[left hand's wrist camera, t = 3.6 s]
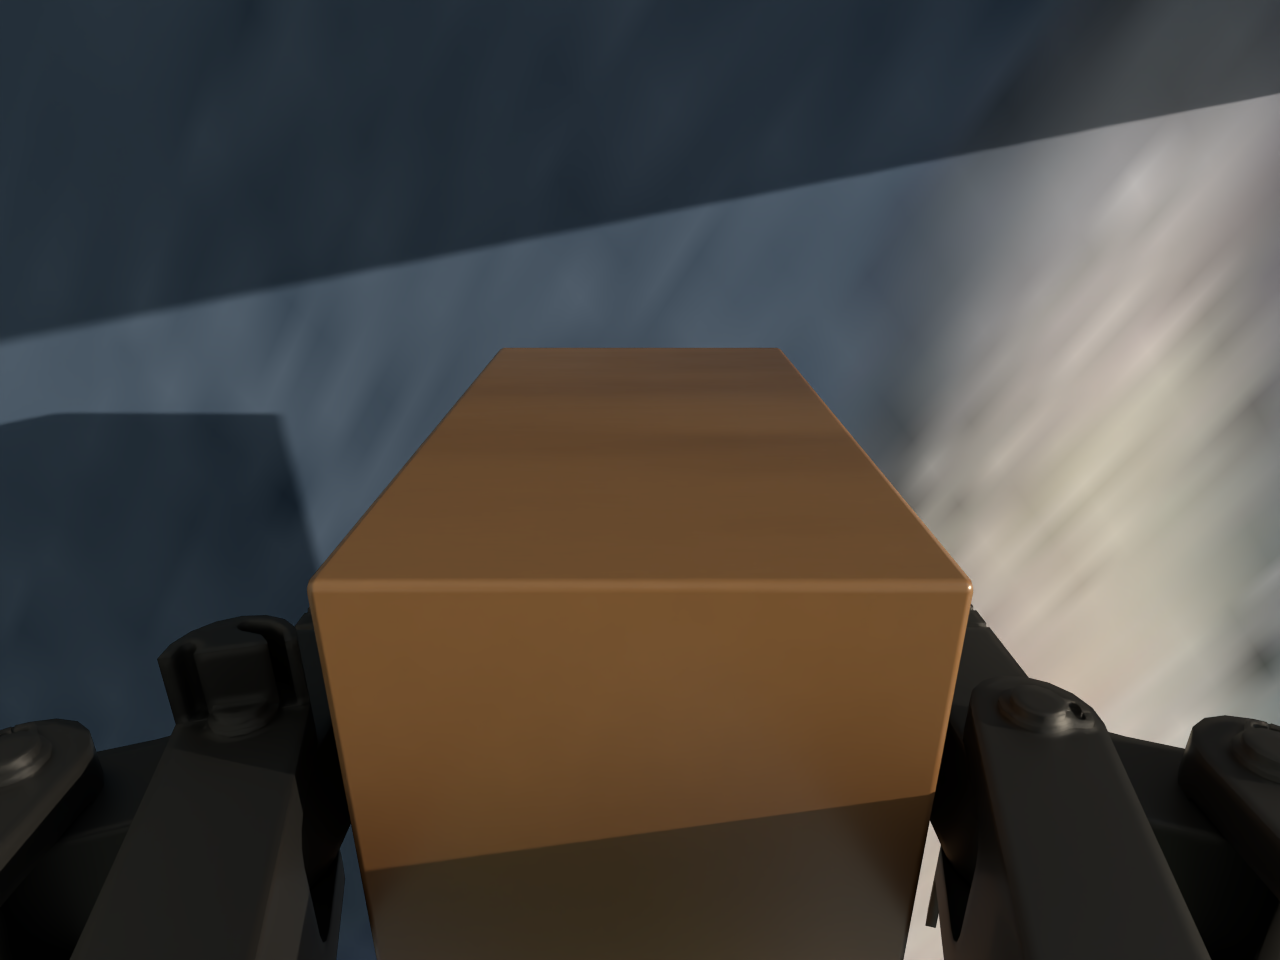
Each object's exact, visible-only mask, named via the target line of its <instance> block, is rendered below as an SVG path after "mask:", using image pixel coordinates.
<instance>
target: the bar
mask: <svg viewBox="0 0 1280 960" xmlns="http://www.w3.org/2000/svg"><path fill="white" fill-rule="evenodd" d="M307 594H308V599H309V604H310V610H311V615H312V620H313V625H314V631H315V636H316V641H317V647H318V652H319V657H320V662H321V668H322V673H323V678H324V683H325V689H326V694H327V699H328V705H329V710H330V715H331V720H332V726H333V731H334V736H335V741H336V747H337V752H338V757H339V763H340V768H341V773H342V778H343V784H344V789H345V794H346V799H347V805H348V810H349V815H350V821H351V826H352V831H353V836H354V842H355V847H356V852H357V857H358V863H359V868H360V873H361V878H362V884H363V889H364V894H365V900H366V905H367V910H368V915H369V921H370V926H371V931H372V936H373V942H374V947H375V952H376V958H377V960H903V959H904V953H905V948H906V943H907V938H908V932H909V927H910V922H911V917H912V911H913V906H914V901H915V895H916V890H917V885H918V880H919V874H920V869H921V864H922V859H923V853H924V848H925V843H926V837H927V832H928V827H929V822H930V816H931V811H932V806H933V800H934V795H935V790H936V785H937V779H938V774H939V769H940V764H941V758H942V753H943V748H944V742H945V737H946V732H947V727H948V721H949V716H950V711H951V706H952V700H953V695H954V690H955V684H956V679H957V674H958V669H959V663H960V658H961V653H962V647H963V642H964V637H965V632H966V626H967V621H968V616H969V611H970V605H971V600H972V595H973V586H972V583H971V580H970V579H969V577H968V576H967V575H966V574H965V573H964V571H963V570H962V569H961V568H960V567H959V565H958V564H957V563H956V562H955V561H954V559H953V558H952V557H951V556H950V554H949V553H948V552H947V551H946V550H945V548H944V547H943V546H942V545H941V544H940V542H939V541H938V540H937V539H936V538H935V536H934V535H933V534H932V533H931V531H930V530H929V529H928V528H927V527H926V525H925V524H924V523H923V522H922V521H921V519H920V518H919V517H918V516H917V514H916V513H915V512H914V511H913V510H912V508H911V507H910V506H909V505H908V504H907V502H906V501H905V500H904V499H903V498H902V496H901V495H900V494H899V493H898V491H897V490H896V489H895V488H894V487H893V485H892V484H891V483H890V482H889V481H888V479H887V478H886V477H885V476H884V474H883V473H882V472H881V471H880V470H879V468H878V467H877V466H876V465H875V464H874V462H873V461H872V460H871V459H870V458H869V456H868V455H867V454H866V453H865V451H864V450H863V449H862V448H861V447H860V445H859V444H858V443H857V442H856V441H855V439H854V438H853V437H852V436H851V435H850V433H849V432H848V431H847V430H846V428H845V427H844V426H843V425H842V424H841V422H840V421H839V420H838V419H837V418H836V416H835V415H834V414H833V413H832V411H831V410H830V409H829V408H828V407H827V405H826V404H825V403H824V402H823V401H822V399H821V398H820V397H819V396H818V395H817V393H816V392H815V391H814V390H813V388H812V387H811V386H810V385H809V384H808V382H807V381H806V380H805V379H804V378H803V376H802V375H801V374H800V373H799V371H798V370H797V369H796V368H795V367H794V365H793V364H792V363H791V362H790V361H789V359H788V358H787V357H786V356H785V355H784V353H783V352H782V351H781V350H780V349H778V348H503V349H500V350H499V352H498V353H497V354H496V355H495V357H494V358H493V359H492V360H491V361H490V363H489V364H488V365H487V366H486V367H485V369H484V370H483V371H482V372H481V373H480V375H479V376H478V377H477V378H476V379H475V381H474V382H473V383H472V384H471V385H470V387H469V388H468V389H467V390H466V392H465V393H464V394H463V395H462V396H461V398H460V399H459V400H458V401H457V402H456V404H455V405H454V406H453V407H452V408H451V410H450V411H449V412H448V413H447V414H446V416H445V417H444V418H443V419H442V421H441V422H440V423H439V424H438V425H437V427H436V428H435V429H434V430H433V431H432V433H431V434H430V435H429V436H428V437H427V439H426V440H425V441H424V442H423V443H422V445H421V446H420V447H419V448H418V449H417V451H416V452H415V453H414V454H413V456H412V457H411V458H410V459H409V460H408V462H407V463H406V464H405V465H404V466H403V468H402V469H401V470H400V471H399V472H398V474H397V475H396V476H395V477H394V478H393V480H392V481H391V482H390V483H389V485H388V486H387V487H386V488H385V489H384V491H383V492H382V493H381V494H380V495H379V497H378V498H377V499H376V500H375V501H374V503H373V504H372V505H371V506H370V507H369V509H368V510H367V511H366V512H365V514H364V515H363V516H362V517H361V518H360V520H359V521H358V522H357V523H356V524H355V526H354V527H353V528H352V529H351V530H350V532H349V533H348V534H347V535H346V536H345V538H344V539H343V540H342V541H341V542H340V544H339V545H338V546H337V547H336V549H335V550H334V551H333V552H332V553H331V555H330V556H329V557H328V558H327V559H326V561H325V562H324V563H323V564H322V565H321V567H320V568H319V569H318V570H317V571H316V573H315V574H314V575H313V576H312V578H311V579H310V580H309V583H308V586H307Z"/></svg>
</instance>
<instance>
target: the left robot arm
mask: <svg viewBox="0 0 1280 960" xmlns="http://www.w3.org/2000/svg"><path fill="white" fill-rule="evenodd" d="M157 660H158V664H159V667H160V671H161V674H162V678H163V681H164V685H165V688H166V692H167V695H168V699H169V702H170V706H171V709H172V713H173V716H174V720H175V723H176V726H175V728H174V730H173V732H172V734H171V736H168V737H164V738H160V739H156V740H152V741H147V742H142V743H137V744H133V745H128V746H123V747H118V748H113V749H108V750H104V751H99V752H96V749H95V746H94V743H93V740H92V737H91V734H90V731H89V730H88V729H87V728H86V727H84V726H83V725H82V724H80V723H79V722H78V721H71V720H63V719H50V720H42V721H34V722H28V723H24V724H19V725H15V727H9V728H6V729H3V730H0V960H336V957H337V948H338V939H339V930H340V920H341V911H342V902H343V893H344V884H345V875H344V868H343V862H342V857H341V852H340V846H341V844H342V842H343V840H344V838H345V835H346V833H347V831H348V829H349V826H350V824H351V821H350V815H349V810H348V805H347V799H346V794H345V789H344V784H343V778H342V773H341V768H340V763H339V757H338V752H337V747H336V741H335V736H334V731H333V726H332V720H331V715H330V710H329V705H328V699H327V694H326V689H325V683H324V678H323V673H322V668H321V662H320V657H319V652H318V647H317V641H316V636H315V631H314V625H313V620H312V615H311V610H310V607H309V608H308V613H304V615H303V616H302V617H301V619H300V620H299V621H298V623H297V624H296V625H295V627H294V626H293V625H292V624H290V623H289V622H288V621H286V620H285V619H281V618H277V617H272V616H268V615H257V616H240V617H235V618H231V619H226V620H222V621H217V622H214V623H211V624H209V625H206V626H204V627H201V628H199V629H196V630H194V631H191V632H189V633H188V634H186V635H185V636H183V637H181V638H180V639H178V640H177V641H175V642H173V643H172V644H170V645H169V646H168V648H167V649H166V650H165V651H164V652H163V653H162V654H161V655H160V657H159V658H158V659H157ZM930 821H931V824H932V826H933V828H934V830H935V832H936V835H937V837H938V839H939V841H940V843H941V847H940V852H939V857H938V862H937V867H936V872H935V877H934V882H933V887H932V892H931V897H930V902H929V907H928V913H927V919H926V926H930V927H934V928H936V924H937V919H938V914H939V919H940V928H941V937H942V946H943V955H944V960H1280V726H1277V725H1274V724H1268V723H1267V722H1264V721H1260V720H1255V719H1250V718H1242V717H1234V716H1226V715H1224V716H1217V717H1209V718H1204V719H1202V720H1201V721H1200V722H1199V723H1197V724H1196V725H1195V726H1193V728H1192V731H1191V733H1190V736H1189V739H1188V742H1187V745H1186V748H1185V749H1183V748H1178V747H1173V746H1169V745H1164V744H1159V743H1154V742H1149V741H1144V740H1140V739H1135V738H1130V737H1125V736H1121V735H1118V734H1114V733H1110V732H1108V731H1107V729H1106V726H1105V724H1104V723H1103V721H1102V720H1101V719H1100V717H1099V716H1098V715H1097V713H1096V712H1095V711H1094V709H1093V708H1092V707H1090V706H1089V705H1088V704H1086V703H1085V702H1084V701H1082V700H1081V699H1079V698H1078V697H1077V696H1075V695H1074V694H1072V693H1070V692H1068V691H1066V690H1064V689H1061V688H1059V687H1057V686H1055V685H1053V684H1050V683H1048V682H1044V681H1040V680H1036V679H1031V678H1029V677H1028V676H1027V675H1026V674H1025V672H1024V671H1023V670H1022V669H1021V667H1020V666H1019V665H1018V663H1017V662H1016V661H1015V660H1014V658H1013V657H1012V656H1011V654H1010V653H1009V652H1008V651H1007V649H1006V648H1005V647H1004V645H1003V644H1002V643H1001V642H1000V640H999V639H998V638H997V636H996V635H995V634H994V633H993V631H992V630H991V629H990V627H986V622H985V621H984V620H983V618H982V617H981V616H980V615H979V613H978V612H977V611H976V610H973V606H972V604H971V605H970V611H969V616H968V621H967V626H966V632H965V637H964V642H963V647H962V653H961V658H960V663H959V669H958V674H957V679H956V684H955V690H954V695H953V700H952V706H951V711H950V716H949V721H948V727H947V732H946V737H945V742H944V748H943V753H942V758H941V764H940V769H939V774H938V779H937V785H936V790H935V795H934V800H933V806H932V811H931V816H930Z"/></svg>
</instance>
